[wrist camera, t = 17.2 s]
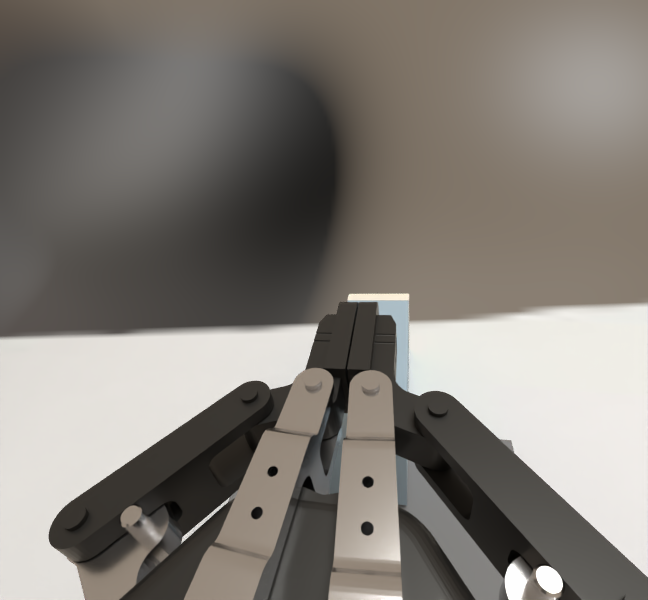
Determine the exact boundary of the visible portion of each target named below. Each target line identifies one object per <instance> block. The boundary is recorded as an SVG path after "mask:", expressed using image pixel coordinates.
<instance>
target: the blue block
mask: <svg viewBox="0 0 648 600" xmlns="http://www.w3.org/2000/svg"><path fill="white" fill-rule="evenodd" d="M348 302H358V303H359V302H378V306H379V315H391V316H392V318H393V319H394V321H395V323H396V334H397V366H396V382H397V384H398V385H399V386H400V387H401V388H402V389H404V390H405V391H407V392H408V371H409V294H349V296H348ZM347 416H348V413H344V417H343V423H342V436H341V440H340V444H339V448H338V452H337V456H336V460H335V464H334V468H333V472H332V476H331V481H330V494H334V493H339V484H340V470H341V457H342V445H343V439H344V438H346V430H347ZM407 467H408V460H407V459H405V458H402V457H400V456H398V455H396V476H397V497H398V504H399V505H407Z"/></svg>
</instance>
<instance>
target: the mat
mask: <svg viewBox="0 0 648 600" xmlns="http://www.w3.org/2000/svg"><path fill="white" fill-rule="evenodd" d="M500 441H502V442H503V443H504V444H505V445H506V446H507V447H508V448H509V449H510V450H511V451H512V452H513V453H514V451H513V446H512V442H511V440H500ZM237 492H238V491H236V492H235V493H234V494H233V495H232V496H230V499H229V501H228V502H230V501H231V500H232V499H234V498H235V497H236V495H237ZM398 506H399V507H401V508H403V509H404V510H406V511H408V512H409V513H411V514H412V515H413V516H415V517H416V518H417V519H418V520H419V521H420V522H422V523H423V524H424V525H425V527H426V528H427V529H428V530H429V531H430V532H431V534H432V535H433V537H434V538H435V539H436V541H437V542H438V544H439V545H440V547H441V548H442V550H443V551H444V553H445V554H446V556H447V557H448V559H449V560H450V562H451V563H452V565H453V566H454V568H455V569H456V571H457V572H458V574H459V575H460V577H461V578H462V580H463V581H464V583H465V584H466V586H467V587H468V589H469V590H470V592H471V593H472V595H473V597H474V598H475V600H499V590H500V587H501V584H502V582H503V579H504V578H503V577H502V576H501V574H500V573H499V572H498V571H497V569H496V568H495V567H494V566H493V564H492V563H491V562H490V561H489V559H488V558H487V557H486V556H485V554H484V553H483V552H482V550H481V549H480V548H479V547H478V545H477V544H476V543H475V542H474V540H473V539H472V538H471V537H470V535H469V534H468V533H467V531H466V530H465V529H464V528H463V526H462V525H461V524H460V523H459V521H458V520H457V519H456V518H455V516H454V515H453V514H452V513H451V511H450V510H449V509H448V507H447V506H446V505H445V504H444V502H443V501H442V500H441V499H440V497H439V496H438V495H437V494H436V492H435V491H434V490H433V488H432V487H431V486H430V485H429V483H428V482H427V481H426V480H425V478H424V477H423V476H422V475H421V473H420V472H419V471H418V469H417V468H416V466H415V463H414V462H412V461H409V460H408V467H407V505H399V504H398Z"/></svg>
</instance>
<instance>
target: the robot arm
mask: <svg viewBox="0 0 648 600" xmlns="http://www.w3.org/2000/svg"><path fill="white" fill-rule="evenodd" d="M316 333H317V334H316V336H315V339H314V343H313V346H312V349H311V353H310V356H309V359H308V363H307V366H306V370H305V371H303V372H301V373H300V374H299V375H298V376H297V377H296V378H295V380H294V382H293V383H292V384H290V385H288V386H284V387H280V388H275V389H271V390H270V389H269V387H268V386H267V385H266V384H265V383H263V382H261V381H250V382H246V383H244V384H242V385H240V386H239V387H237V388H236V389H234V390H233V391H232V392H230V393H229V394H227V395H226V396H224V397H223V398H221V399H220V400H218V401H217V402H215V403H214V404H213V405H211V406H210V407H208V408H207V409H205V410H204V411H202V412H201V413H199V414H198V415H197V416H195V417H194V418H192V419H191V420H189V421H188V422H186V423H185V424H183V425H182V426H180V427H179V428H178V429H176V430H175V431H173V432H172V433H170V434H169V435H167V436H166V437H164V438H163V439H162V440H160V441H159V442H157V443H156V444H154V445H153V446H151V447H150V448H148V449H147V450H145V451H144V452H143V453H141V454H140V455H138V456H137V457H135V458H134V459H132V460H131V461H129V462H128V463H127V464H125V465H124V466H122V467H121V468H119V469H118V470H116V471H115V472H113V473H112V474H110V475H109V476H108V477H106V478H105V479H103V480H102V481H100V482H99V483H97V484H96V485H94V486H93V487H92V488H90V489H89V490H87V491H86V492H84V493H83V494H81V495H80V496H78V497H77V498H76V499H74V500H73V501H71V502H70V503H69V504H67V505H66V506H65V507H64V508H63V509H62V510H61V511H60V512H59V514H58V515H57V516H56V518H55V519H54V521H53V523H52V525H51V528H50V531H49V542H50V544H51V545H52V546H53V547H54V548H55V549H57V550H58V551H60V552H61V553H62V554H64V555H65V556H66V557H67V559H68V560H69V561H70V562H72V563H73V564H74V565H76V566H77V569H78V573H79V577H80V581H81V585H82V589H83V593H84V596H85V600H475V598H474V597H473V595H472V593H471V592H470V590H469V589H468V587H467V586H466V584H465V583H464V581H463V580H462V578H461V577H460V575H459V574H458V572H457V571H456V569H455V568H454V566H453V565H452V563H451V562H450V560H449V559H448V557H447V556H446V554H445V553H444V551H443V550H442V548H441V547H440V545H439V544H438V542H437V541H436V539H435V538H434V537H433V535H432V534H431V532H430V531H429V530H428V529H427V528H426V527H425V525H424V524H423V523H422V522H420V521H419V520H418V519H417V518H416V517H415V516H413V515H412V514H411V513H409V512H408V511H406V510H404V509H403V508H401V507H399V506H398V497H397V476H396V455H398V456H400V457H402V458H405V459H407V460H409V461H412V462H414V463H415V466H416V468H417V469H418V471H419V472H420V473H421V475H422V476H423V477H424V478H425V480H426V481H427V482H428V483H429V485H430V486H431V487H432V488H433V490H434V491H435V492H436V494H437V495H438V496H439V497H440V499H441V500H442V501H443V502H444V504H445V505H446V506H447V507H448V509H449V510H450V511H451V513H452V514H453V515H454V516H455V518H456V519H457V520H458V521H459V523H460V524H461V525H462V526H463V528H464V529H465V530H466V531H467V533H468V534H469V535H470V537H471V538H472V539H473V540H474V542H475V543H476V544H477V545H478V547H479V548H480V549H481V550H482V552H483V553H484V554H485V556H486V557H487V558H488V559H489V561H490V562H491V563H492V564H493V566H494V567H495V568H496V569H497V571H498V572H499V573H500V574H501V576H502V577H503V578H504V579H503V582H502V584H501V587H500V590H499V600H648V577H647V576H646V575H644V574H643V573H642V572H641V571H640V570H639V569H638V568H637V567H636V566H635V565H634V564H633V563H632V562H630V561H629V560H628V559H627V558H626V557H625V556H624V555H623V554H622V553H621V552H620V551H619V550H618V549H617V548H615V547H614V546H613V545H612V544H611V543H610V542H609V541H608V540H607V539H606V538H605V537H604V536H603V535H601V534H600V533H599V532H598V531H597V530H596V529H595V528H594V527H593V526H592V525H591V524H590V523H589V522H587V521H586V520H585V519H584V518H583V517H582V516H581V515H580V514H579V513H578V512H577V511H576V510H575V509H574V508H572V507H571V506H570V505H569V504H568V503H567V502H566V501H565V500H564V499H563V498H562V497H561V496H560V495H558V494H557V493H556V492H555V491H554V490H553V489H552V488H551V487H550V486H549V485H548V484H547V483H546V482H545V481H543V480H542V479H541V478H540V477H539V476H538V475H537V474H536V473H535V472H534V471H533V470H532V469H531V468H529V467H528V466H527V465H526V464H525V463H524V462H523V461H522V460H521V459H520V458H519V457H518V456H517V455H515V454H514V453H513V452H512V451H511V450H510V449H509V448H508V447H507V446H506V445H505V444H504V443H503V442H502V441H500V440H499V439H498V438H497V437H496V436H495V435H494V434H493V433H492V432H491V431H490V430H489V429H488V428H486V427H485V426H484V425H483V424H482V423H481V422H480V421H479V420H478V419H477V418H476V417H475V416H474V415H473V414H471V413H470V412H469V411H468V410H467V409H466V408H465V407H464V406H463V405H462V404H461V403H460V402H459V401H457V400H456V399H455V398H454V397H453V396H451V395H449V394H447V393H444V392H440V391H430V392H426V393H424V394H422V395H421V396H417V395H415V394H412V393H409V392H407V391H405V390H404V389H402V388H401V387H400V386H399V385H398V384H397V382H396V366H397V334H396V323H395V321H394V319H393V318H392V316H391V315H379V306H378V302H359V303H358V302H340V303H339V306H338V310H337V314H336V315H326V316H325V317H324V318H323V319H322V321H321V322H320V323H319V326H318V329H317V332H316ZM344 413H348V416H347V430H346V438H344V439H343V445H342V457H341V470H340V484H339V493H334V494H330V481H331V476H332V472H333V468H334V464H335V460H336V456H337V452H338V448H339V444H340V440H341V436H342V423H343V417H344ZM236 491H238V492H237V495H236V497H235V498H234V499H232V500H231V501H230V502H228V503H227V504H226V505H224V506H223V507H222V508H221V509H220V510H219V511H218V512H216V513H215V514H214V515H213V516H212V517H211V518H210V519H209V520H207V521H206V522H205V523H204V524H203V525H202V526H201V527H200V528H199V529H197V530H196V531H195V532H194V533H193V534H192V535H191V536H190V537H188V538H187V539H186V540H185V541H184V542H183V543H182V544H181V541H182V537H183V536H184V535H185V534H186V533H188V532H189V531H190V530H191V529H192V528H193V527H195V526H196V525H197V524H198V523H199V522H201V521H202V520H203V519H204V518H205V517H207V516H208V515H209V514H210V513H211V512H213V511H214V510H215V509H216V508H217V507H218V506H220V505H221V504H222V503H223V502H224V501H226V500H227V499H228V498H229V497H230V496H232V495H233V494H234V493H235V492H236Z"/></svg>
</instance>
